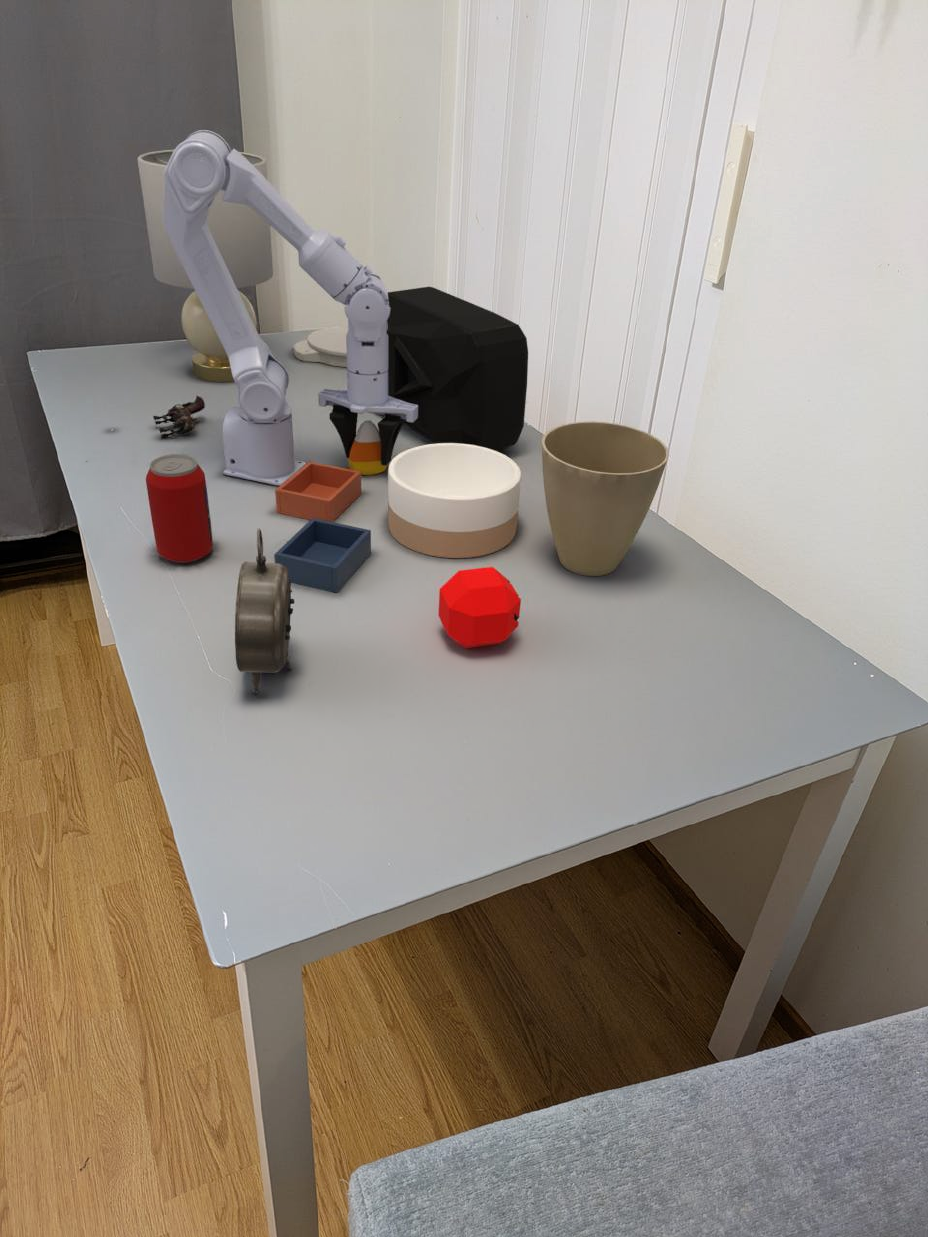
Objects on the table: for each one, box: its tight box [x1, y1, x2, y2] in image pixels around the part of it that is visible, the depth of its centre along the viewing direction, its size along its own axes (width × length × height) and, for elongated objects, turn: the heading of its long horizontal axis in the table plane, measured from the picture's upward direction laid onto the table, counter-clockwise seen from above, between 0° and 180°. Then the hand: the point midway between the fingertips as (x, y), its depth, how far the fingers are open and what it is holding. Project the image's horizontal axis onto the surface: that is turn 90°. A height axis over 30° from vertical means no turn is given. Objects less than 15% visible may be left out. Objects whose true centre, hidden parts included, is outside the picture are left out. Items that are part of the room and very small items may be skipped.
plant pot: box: [541, 420, 670, 577], centre depth 112 cm, size 15×15×16 cm
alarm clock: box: [234, 527, 296, 696], centre depth 90 cm, size 11×5×16 cm, turn 5°
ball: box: [438, 566, 522, 649], centre depth 99 cm, size 8×8×8 cm
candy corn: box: [348, 420, 389, 476], centre depth 133 cm, size 6×3×8 cm, turn 105°
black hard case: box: [386, 286, 529, 452], centre depth 144 cm, size 30×12×20 cm, turn 37°
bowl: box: [387, 443, 522, 559], centre depth 120 cm, size 17×17×8 cm
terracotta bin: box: [274, 461, 362, 522], centre depth 125 cm, size 8×10×3 cm
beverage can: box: [145, 453, 214, 564], centre depth 110 cm, size 7×7×12 cm
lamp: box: [137, 149, 274, 383], centre depth 157 cm, size 20×20×35 cm
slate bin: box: [274, 518, 372, 593], centre depth 111 cm, size 8×10×3 cm
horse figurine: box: [111, 395, 206, 439], centre depth 143 cm, size 9×4×15 cm
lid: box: [292, 325, 348, 368], centre depth 178 cm, size 17×20×3 cm
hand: (368, 459), depth 134 cm, fingers closed on candy corn, 5 cm apart
